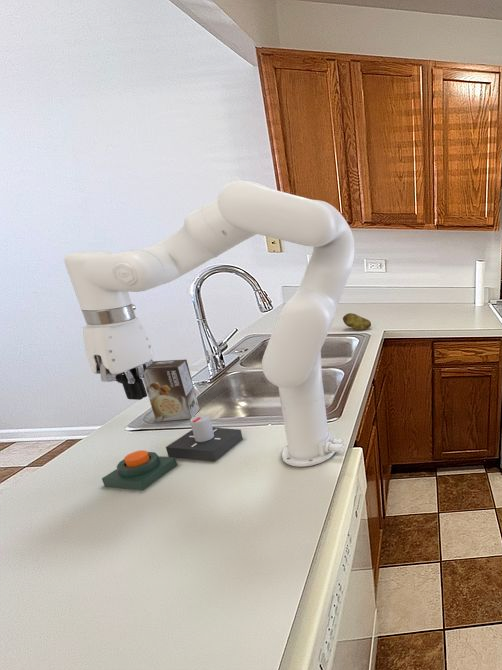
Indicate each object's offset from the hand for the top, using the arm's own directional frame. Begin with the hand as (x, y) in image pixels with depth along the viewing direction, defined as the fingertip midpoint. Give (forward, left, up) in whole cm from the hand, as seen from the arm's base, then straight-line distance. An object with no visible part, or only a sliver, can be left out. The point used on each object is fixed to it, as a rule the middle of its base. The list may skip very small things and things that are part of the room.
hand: (137, 397), depth 86 cm
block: (+1, +3, -18) cm, 18 cm away
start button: (+1, +3, -14) cm, 15 cm away
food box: (+15, -23, -18) cm, 32 cm away
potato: (-1, -115, -14) cm, 116 cm away
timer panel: (-5, -9, -18) cm, 20 cm away
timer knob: (-5, -9, -15) cm, 18 cm away
